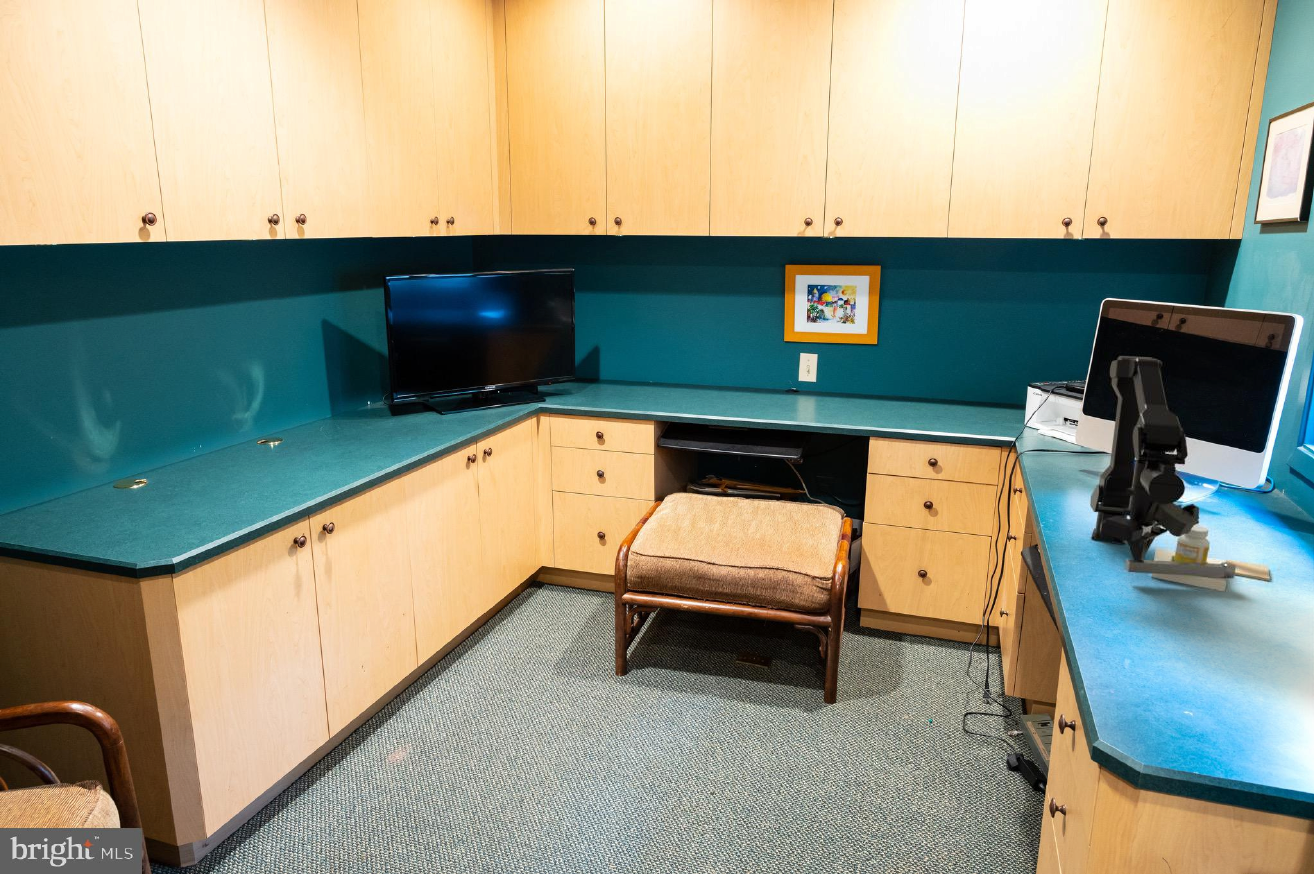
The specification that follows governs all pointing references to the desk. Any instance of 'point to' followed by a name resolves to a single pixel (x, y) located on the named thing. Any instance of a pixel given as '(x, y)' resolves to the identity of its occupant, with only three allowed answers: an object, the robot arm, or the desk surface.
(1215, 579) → the socket housing
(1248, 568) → the coaster
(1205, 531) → the supplement bottle
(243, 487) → the desk surface
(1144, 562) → the latch arm
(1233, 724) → the desk surface
